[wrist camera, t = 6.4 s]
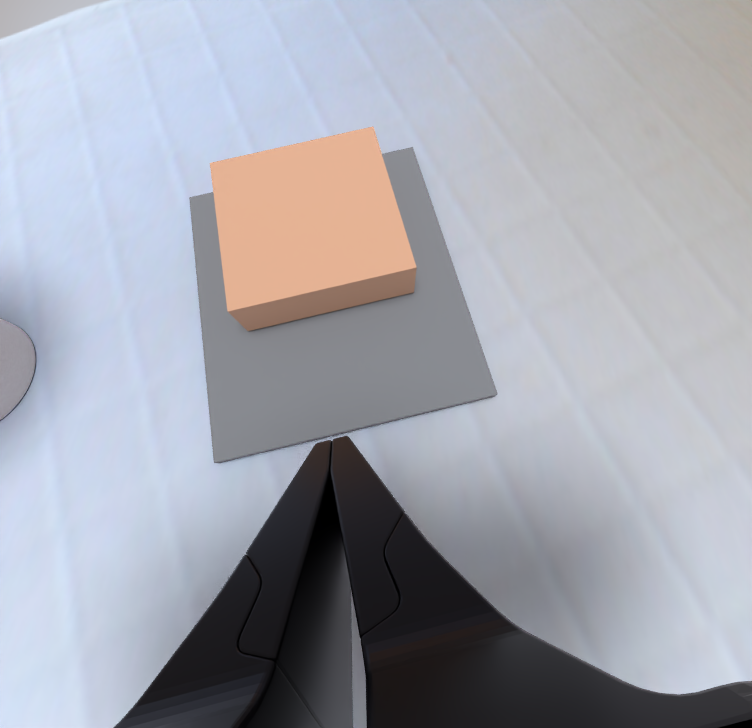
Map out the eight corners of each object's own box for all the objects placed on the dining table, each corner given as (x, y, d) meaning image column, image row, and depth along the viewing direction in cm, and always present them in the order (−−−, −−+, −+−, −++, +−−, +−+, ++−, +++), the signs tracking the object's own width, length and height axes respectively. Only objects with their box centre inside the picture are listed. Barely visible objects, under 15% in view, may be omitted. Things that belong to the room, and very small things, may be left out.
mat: (494, 396, 18) (497, 394, 17) (218, 463, 18) (213, 462, 17) (412, 154, 23) (412, 147, 22) (193, 203, 22) (189, 197, 22)
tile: (416, 267, 17) (373, 126, 19) (227, 311, 16) (209, 163, 19) (413, 293, 19) (375, 165, 22) (248, 332, 19) (230, 198, 22)
